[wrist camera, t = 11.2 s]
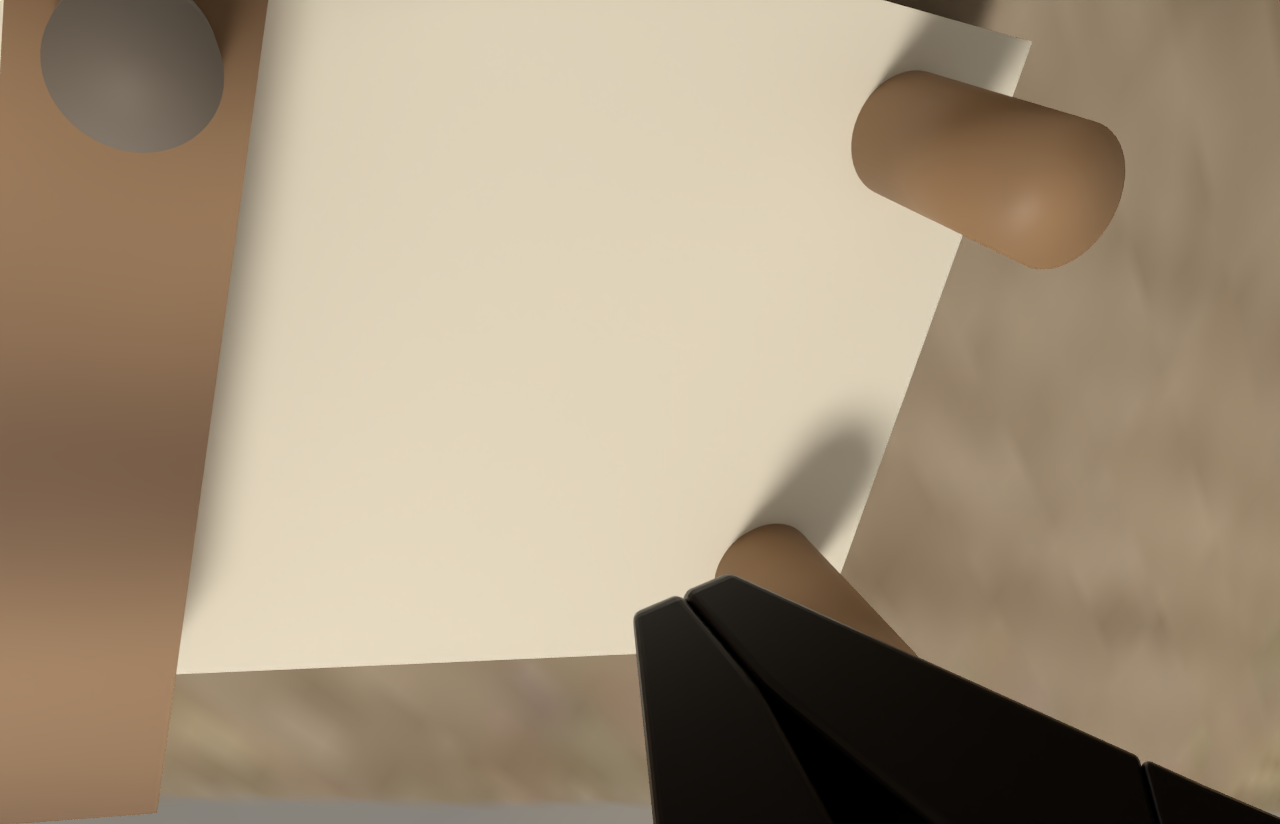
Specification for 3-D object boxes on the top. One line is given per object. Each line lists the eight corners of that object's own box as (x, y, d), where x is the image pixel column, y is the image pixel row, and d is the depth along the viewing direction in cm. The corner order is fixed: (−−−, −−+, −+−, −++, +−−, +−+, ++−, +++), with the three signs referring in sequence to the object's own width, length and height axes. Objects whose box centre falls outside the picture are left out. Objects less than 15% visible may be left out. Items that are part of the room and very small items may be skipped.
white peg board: (962, 25, 21) (1215, 83, 16) (771, 594, 26) (920, 773, 21) (-97, -270, 13) (-240, -332, 8) (-88, 610, 18) (-176, 897, 13)
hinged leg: (36, -117, 13) (-4, -102, 9) (251, -59, 14) (283, -28, 11) (-14, 683, 17) (-52, 888, 14) (155, 679, 18) (157, 867, 15)
